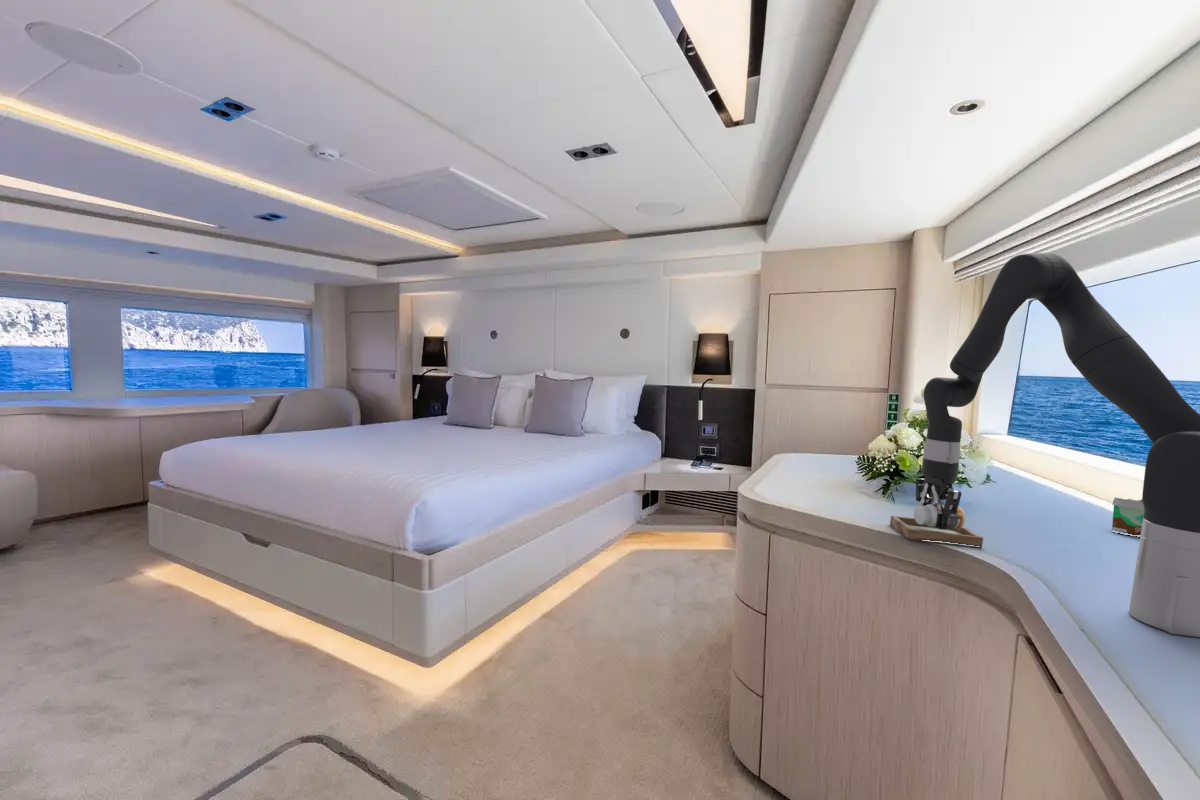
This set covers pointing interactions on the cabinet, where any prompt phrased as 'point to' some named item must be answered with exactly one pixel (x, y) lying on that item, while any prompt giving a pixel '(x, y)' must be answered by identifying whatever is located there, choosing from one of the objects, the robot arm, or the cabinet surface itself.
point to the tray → (934, 532)
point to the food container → (1128, 516)
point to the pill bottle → (929, 516)
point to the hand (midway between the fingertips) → (933, 524)
